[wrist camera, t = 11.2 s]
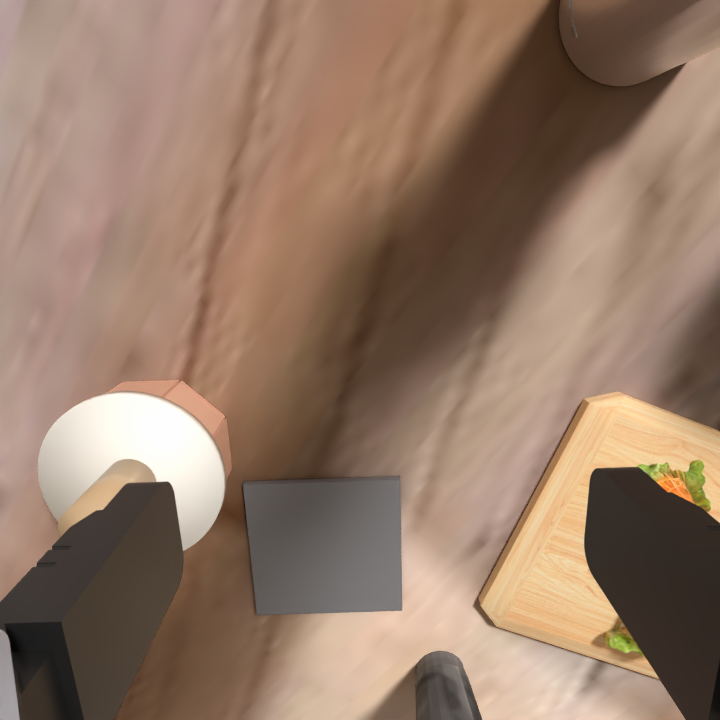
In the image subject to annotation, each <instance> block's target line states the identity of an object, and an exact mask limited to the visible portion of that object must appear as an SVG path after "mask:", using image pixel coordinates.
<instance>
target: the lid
mask: <svg viewBox="0 0 720 720" xmlns="http://www.w3.org/2000/svg"><path fill="white" fill-rule="evenodd" d="M38 478H39V484H40V488H41V491H42V495H43V497H44V499H45V502H46V504H47V506H48V508H49V509H50V511H51V513H52V514H53V516H54V517H55V518H56V520H57V521H58V534H59V537H61V536H62V535H63V534H64V533H65V532H66V531H67V530H68V529H69V528H70V527H71V526H72V525H74V524H76V523H77V522H79V521H80V520H82V519H83V518H85V517H87V516H88V515H90V514H91V513H93V512H94V511H96V510H103V509H104V508H105V507H106V506H107V505H108V503H109V502H110V501H111V500H112V499H113V498H114V496H115V495H116V494H117V493H118V492H119V491H120V490H121V488H122V487H123V486H124V485H125V484H127V483H136V482H166V481H167V482H169V483H170V484H171V485H172V487H173V490H174V494H175V500H176V507H177V514H178V521H179V527H180V534H181V541H182V547H183V551H184V550H186V549H188V548H189V547H191V546H192V545H194V544H195V543H197V542H198V541H199V540H200V539H201V538H202V537H203V536H204V535H205V534H206V533H207V532H208V530H209V529H210V528H211V526H212V525H213V523H214V521H215V520H216V518H217V516H218V513H219V511H220V509H221V507H222V504H223V501H224V497H225V493H226V485H227V479H226V469H225V463H224V460H223V457H222V454H221V451H220V449H219V447H218V445H217V443H216V441H215V439H214V438H213V436H212V435H211V433H210V432H209V431H208V429H207V428H206V427H205V426H204V425H203V424H202V422H201V421H199V420H198V419H197V418H196V417H195V416H194V415H193V414H192V413H190V412H189V411H187V410H186V409H185V408H183V407H182V406H180V405H178V404H176V403H174V402H172V401H170V400H168V399H165V398H163V397H161V396H157V395H154V394H150V393H145V392H139V391H113V392H107V393H103V394H99V395H96V396H94V397H91V398H88V399H86V400H85V401H83V402H81V403H79V404H77V405H76V406H74V407H73V408H72V409H70V410H69V411H67V412H66V413H65V414H63V415H62V416H61V417H60V418H59V419H58V420H57V421H56V422H55V423H54V424H53V426H52V427H51V429H50V430H49V431H48V433H47V435H46V437H45V439H44V441H43V443H42V446H41V449H40V453H39V459H38Z"/></svg>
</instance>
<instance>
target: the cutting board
mask: <svg viewBox="0 0 720 720" xmlns="http://www.w3.org/2000/svg"><path fill="white" fill-rule="evenodd" d="M615 467H639V468H641V469H642V470H643V471H644V472H646V473H647V474H648V475H649V476H650V477H651V478H652V479H653V480H655V481H656V482H657V483H658V484H659V485H660V486H661V487H662V488H663V489H665V490H666V491H667V492H672V493H674V494H676V495H678V496H680V497H682V498H684V499H686V500H688V501H690V502H692V503H694V504H696V505H698V506H700V507H701V508H703V509H704V510H705V511H706V512H707V513H708V514H710V515H711V516H712V517H713V518H714V519H716V520H717V521H718V522H719V523H720V431H719V430H717V429H714V428H711V427H709V426H706V425H703V424H701V423H698V422H696V421H693V420H690V419H688V418H685V417H683V416H680V415H677V414H675V413H672V412H669V411H667V410H664V409H662V408H659V407H656V406H654V405H651V404H648V403H646V402H643V401H641V400H638V399H635V398H633V397H630V396H627V395H625V394H622V393H620V392H613V393H609V394H604V395H599V396H594V397H590V398H585V399H584V400H583V401H582V403H581V405H580V407H579V409H578V411H577V413H576V415H575V417H574V418H573V420H572V422H571V424H570V426H569V428H568V430H567V432H566V434H565V435H564V437H563V439H562V441H561V443H560V445H559V447H558V449H557V450H556V452H555V454H554V456H553V458H552V460H551V462H550V464H549V466H548V467H547V469H546V471H545V473H544V475H543V477H542V479H541V481H540V483H539V484H538V486H537V488H536V490H535V492H534V494H533V496H532V498H531V500H530V501H529V503H528V505H527V507H526V509H525V511H524V513H523V515H522V517H521V518H520V520H519V522H518V524H517V526H516V528H515V530H514V532H513V533H512V535H511V537H510V539H509V541H508V543H507V545H506V547H505V549H504V550H503V552H502V554H501V556H500V558H499V560H498V562H497V564H496V566H495V567H494V569H493V571H492V573H491V575H490V577H489V579H488V581H487V583H486V584H485V586H484V588H483V590H482V592H481V594H480V596H479V598H478V599H479V602H480V606H481V607H482V609H483V610H484V611H485V612H486V614H487V615H488V616H489V618H490V619H491V620H492V621H493V623H494V624H495V625H496V627H499V628H502V629H506V630H509V631H512V632H515V633H518V634H521V635H524V636H527V637H530V638H533V639H537V640H540V641H543V642H546V643H549V644H552V645H555V646H558V647H561V648H565V649H568V650H571V651H574V652H577V653H580V654H583V655H586V656H589V657H592V658H596V659H599V660H602V661H605V662H608V663H611V664H614V665H617V666H620V667H624V668H627V669H630V670H633V671H636V672H639V673H642V674H645V675H648V676H651V677H655V678H658V676H657V674H656V673H655V671H654V670H653V668H652V667H651V665H650V664H649V662H648V661H647V659H646V658H645V656H644V654H643V653H642V651H641V650H640V648H639V647H638V645H637V644H636V642H635V641H634V639H633V637H632V636H631V634H630V633H629V631H628V630H627V628H626V627H625V625H624V624H623V622H622V621H621V619H620V617H619V616H618V614H617V613H616V611H615V610H614V608H613V607H612V605H611V604H610V602H609V601H608V599H607V597H606V596H605V594H604V593H603V591H602V590H601V588H600V587H599V585H598V584H597V582H596V581H595V579H594V577H593V576H592V574H591V572H590V570H589V567H588V564H587V561H586V556H585V550H584V535H585V525H586V514H587V504H588V493H589V483H590V477H591V474H592V472H593V470H595V469H596V468H615ZM658 679H659V678H658Z"/></svg>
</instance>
